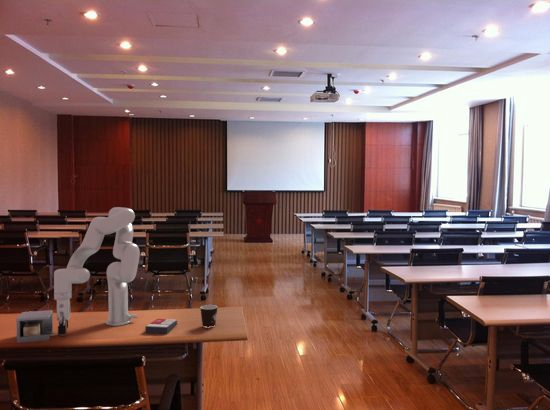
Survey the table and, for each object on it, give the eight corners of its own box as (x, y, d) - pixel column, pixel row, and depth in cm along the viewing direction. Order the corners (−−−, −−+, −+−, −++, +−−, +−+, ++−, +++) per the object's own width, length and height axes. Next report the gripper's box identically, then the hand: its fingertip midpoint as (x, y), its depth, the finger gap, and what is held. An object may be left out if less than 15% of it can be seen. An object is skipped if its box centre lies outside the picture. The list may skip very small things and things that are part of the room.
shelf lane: (52, 332, 226) (52, 310, 226) (48, 340, 215) (48, 316, 214) (22, 335, 222) (22, 312, 222) (16, 342, 211) (16, 318, 211)
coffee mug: (206, 330, 230) (206, 310, 230) (197, 326, 237) (197, 306, 237) (225, 325, 238) (225, 306, 238) (216, 321, 245) (216, 303, 244)
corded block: (67, 332, 225) (67, 318, 225) (66, 336, 220) (65, 322, 219) (26, 336, 220) (26, 321, 220) (23, 340, 214) (23, 325, 214)
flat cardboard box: (177, 318, 238) (166, 326, 224) (177, 327, 238) (166, 335, 224) (156, 318, 240) (145, 325, 225) (156, 326, 240) (144, 334, 225)
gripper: (69, 298, 214) (69, 335, 215) (73, 290, 231) (73, 325, 231) (51, 299, 212) (51, 337, 212) (57, 291, 228) (57, 326, 229)
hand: (63, 331), depth 222 cm, fingers open, 9 cm apart
